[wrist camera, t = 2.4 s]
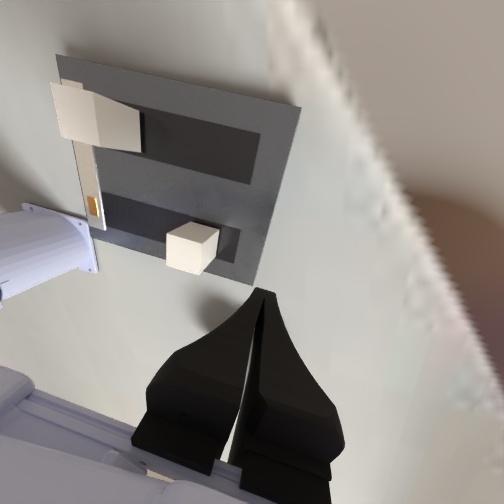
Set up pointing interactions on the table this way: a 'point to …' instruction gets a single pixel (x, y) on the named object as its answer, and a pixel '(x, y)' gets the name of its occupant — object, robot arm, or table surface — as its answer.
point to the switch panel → (184, 165)
